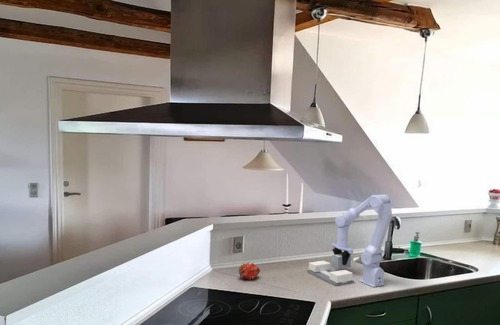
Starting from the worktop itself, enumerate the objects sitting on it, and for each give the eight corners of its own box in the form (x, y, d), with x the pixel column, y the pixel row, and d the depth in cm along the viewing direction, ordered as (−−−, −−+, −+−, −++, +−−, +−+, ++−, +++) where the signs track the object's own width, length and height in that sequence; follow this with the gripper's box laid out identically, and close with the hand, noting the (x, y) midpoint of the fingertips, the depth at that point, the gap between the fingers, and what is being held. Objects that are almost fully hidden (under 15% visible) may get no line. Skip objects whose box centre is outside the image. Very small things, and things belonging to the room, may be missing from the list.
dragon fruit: (235, 282, 180) (257, 283, 185) (243, 277, 174) (265, 277, 179) (234, 265, 185) (255, 266, 190) (241, 259, 179) (263, 260, 184)
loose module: (350, 266, 197) (351, 255, 197) (337, 268, 193) (338, 257, 193) (344, 264, 201) (345, 253, 201) (331, 266, 197) (332, 255, 197)
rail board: (354, 282, 182) (354, 272, 182) (335, 286, 176) (335, 276, 176) (324, 269, 201) (325, 260, 201) (307, 271, 195) (307, 262, 195)
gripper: (357, 240, 192) (356, 266, 193) (338, 234, 205) (337, 259, 205) (347, 241, 189) (346, 268, 189) (328, 235, 202) (327, 260, 202)
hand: (341, 263), depth 197 cm, fingers closed on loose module, 4 cm apart
